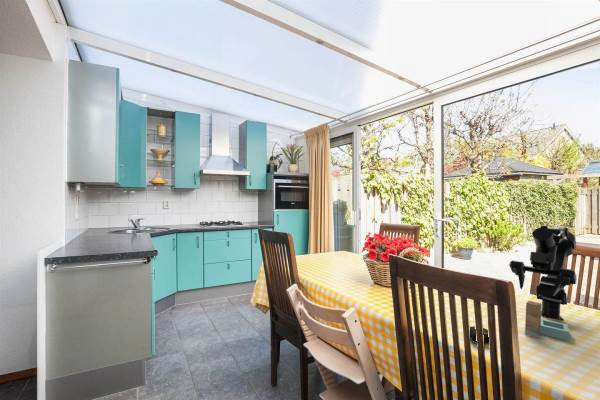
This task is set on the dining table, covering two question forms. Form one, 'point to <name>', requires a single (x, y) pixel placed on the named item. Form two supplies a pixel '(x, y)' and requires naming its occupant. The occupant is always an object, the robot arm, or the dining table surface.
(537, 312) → the square wooden post
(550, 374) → the dining table surface
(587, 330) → the dining table surface
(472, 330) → the tape measure
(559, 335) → the square teal collar
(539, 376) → the dining table surface
